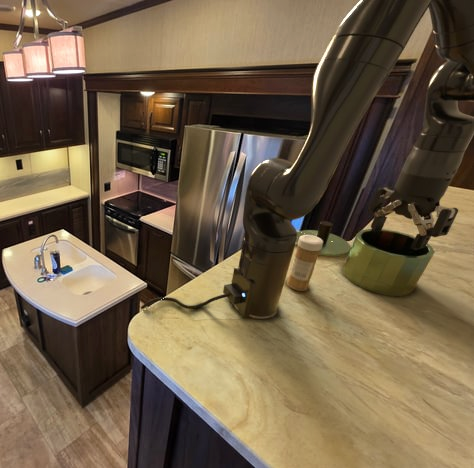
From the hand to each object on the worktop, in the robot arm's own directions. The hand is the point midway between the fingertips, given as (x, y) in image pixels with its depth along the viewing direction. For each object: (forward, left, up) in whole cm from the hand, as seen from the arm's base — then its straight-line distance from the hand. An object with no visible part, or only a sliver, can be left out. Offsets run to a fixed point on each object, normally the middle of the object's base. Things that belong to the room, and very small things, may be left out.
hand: (394, 239), depth 66 cm
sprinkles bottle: (-20, +3, -11) cm, 23 cm away
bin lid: (0, +17, -11) cm, 20 cm away
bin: (0, 0, -11) cm, 11 cm away
